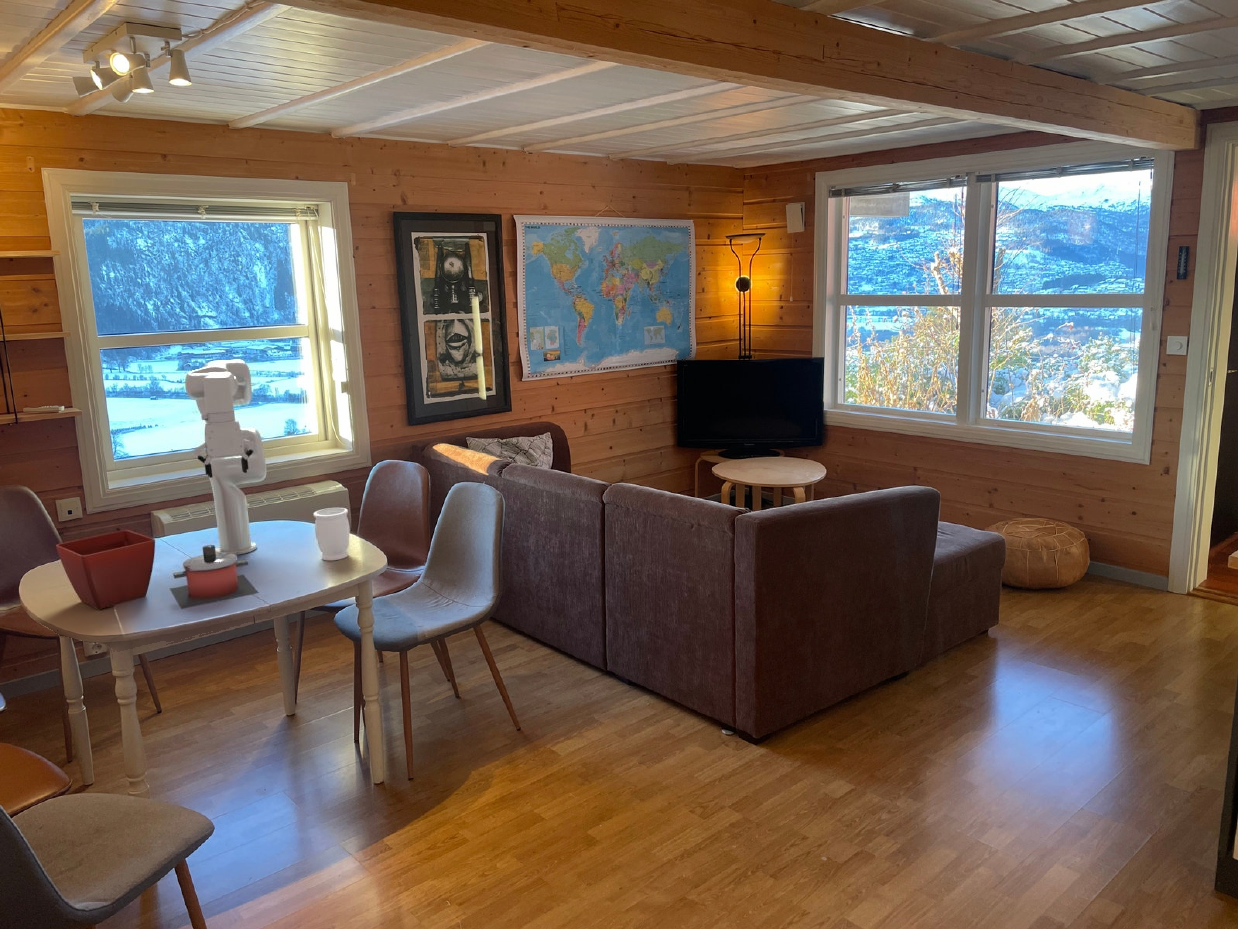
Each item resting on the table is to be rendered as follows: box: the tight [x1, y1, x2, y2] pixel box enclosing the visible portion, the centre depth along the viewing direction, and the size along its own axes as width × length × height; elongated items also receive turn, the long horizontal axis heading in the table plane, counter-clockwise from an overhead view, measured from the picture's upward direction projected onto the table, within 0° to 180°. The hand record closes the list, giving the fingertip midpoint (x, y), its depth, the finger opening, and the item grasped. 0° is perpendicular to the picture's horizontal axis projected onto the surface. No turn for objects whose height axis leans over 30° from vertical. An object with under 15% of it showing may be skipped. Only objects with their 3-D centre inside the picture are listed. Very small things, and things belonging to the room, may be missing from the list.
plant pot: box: [55, 529, 156, 610], centre depth 252 cm, size 19×19×17 cm
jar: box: [313, 507, 351, 561], centre depth 286 cm, size 11×10×15 cm
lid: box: [182, 544, 238, 572], centre depth 255 cm, size 14×14×5 cm
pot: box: [172, 559, 249, 599], centre depth 256 cm, size 13×19×8 cm
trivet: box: [169, 574, 259, 610], centre depth 257 cm, size 20×20×1 cm
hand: (227, 474), depth 269 cm, fingers open, 9 cm apart
